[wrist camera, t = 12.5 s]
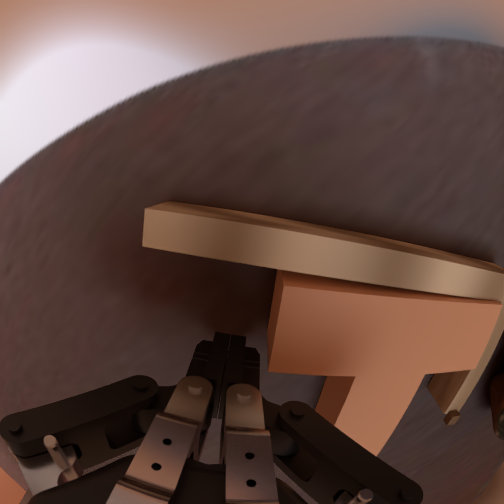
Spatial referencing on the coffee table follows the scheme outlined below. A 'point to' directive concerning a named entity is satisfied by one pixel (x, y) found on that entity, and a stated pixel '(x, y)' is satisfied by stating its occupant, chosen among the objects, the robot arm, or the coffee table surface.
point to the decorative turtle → (497, 404)
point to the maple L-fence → (334, 265)
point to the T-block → (371, 345)
